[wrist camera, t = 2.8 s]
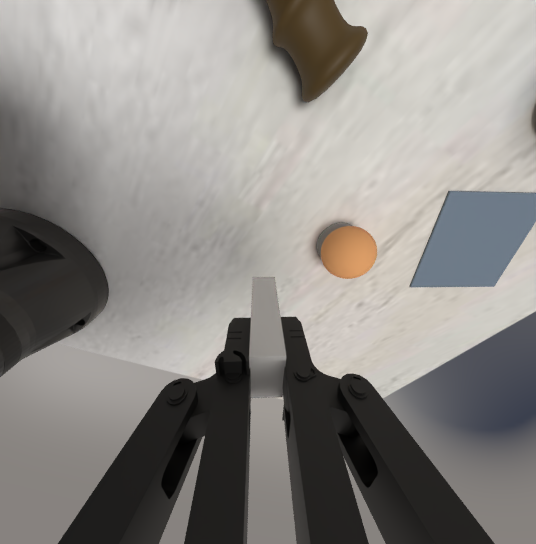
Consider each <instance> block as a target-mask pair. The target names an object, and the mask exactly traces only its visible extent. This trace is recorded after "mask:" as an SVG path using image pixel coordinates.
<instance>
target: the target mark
mask: <svg viewBox="0 0 536 544" xmlns="http://www.w3.org/2000/svg"><path fill="white" fill-rule="evenodd" d="M535 222H536V193H515V192H469V191H449V192H448V195H447V197H446V200H445V202H444V204H443V207H442V209H441V212H440V214H439V217H438V219H437V221H436V224H435V226H434V229H433V231H432V234H431V236H430V238H429V241H428V243H427V246H426V248H425V251H424V253H423V255H422V258H421V260H420V263H419V265H418V268H417V270H416V272H415V275H414V277H413V280H412V282H411V285H410V287H494V286H495V284H496V283H497V281H498V280H499V278H500V277H501V275H502V274H503V272H504V270H505V269H506V267H507V266H508V264H509V263H510V261H511V259H512V258H513V256H514V255H515V253H516V252H517V250H518V248H519V247H520V245H521V244H522V242H523V241H524V239H525V238H526V236H527V234H528V233H529V231H530V230H531V228H532V227H533V225H534V223H535Z"/></svg>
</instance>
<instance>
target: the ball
mask: <svg viewBox="0 0 536 544" xmlns="http://www.w3.org/2000/svg"><path fill="white" fill-rule="evenodd" d="M376 257H377V246H376V243H375V240H374V239H373V237H372V236H371V235H370V234H369V233H368V232H367V231H365V230H364V229H362V228H359V227H355V226H345V227H341V228H338V229H336V230H334V231H333V232H331V233H330V234H329V235H328V236H327V237H326V239H325V240H324V242H323V244H322V247H321V259H322V262H323V265H324V266H325V268H326V269H327V270H328V271H329V272H330V273H331V274H333V275H335V276H337V277H340V278H345V279H351V278H356V277H359V276H361V275H363V274H365V273H366V272H368V271H369V270H370V269H371V267H372V266H373V264H374V263H375V260H376Z"/></svg>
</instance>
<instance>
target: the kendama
mask: <svg viewBox="0 0 536 544" xmlns="http://www.w3.org/2000/svg"><path fill="white" fill-rule="evenodd" d="M266 1H267V4H268V7H269V9H270V13H271V17H272V21H273V35H272V38H273V44H274V45H275V46H277V47H282V48H284V49H285V50H286V51H287V52H288V53H289V54H290V56H291V57H292V59H293V61H294V63H295V65H296V67H297V69H298V71H299V74H300V77H301V80H302V98H303V100H304V101H305V102H310V101H312V100H314V99H316V98H317V97H319V96H320V95H321V94H322V93H323V92H325V91H326V90H327V89H328V88H329V87H330V86H331V85H332V84H333V83H334V82H335V81H336V80H337V79H338V78H339V77H340V76H341V74H342V73H343V72H344V71H345V70H346V69H347V68H348V66H349V65H350V64H351V63H352V62H353V61H354V59H355V58H356V56H357V55H358V54H359V52H360V51H361V49H362V47H363V45H364V43H365V42H366V39H367V34H368V33H367V30H366V28H364V27H362V26H351V25H349V24H348V23H347V22H346V21H345V20H344V19H343V17H342V15H341V14H340V12H339V10H338V8H337V6H336V4H335V2H334V0H266Z"/></svg>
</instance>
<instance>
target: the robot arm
mask: <svg viewBox="0 0 536 544" xmlns="http://www.w3.org/2000/svg"><path fill="white" fill-rule="evenodd" d="M107 299H108V285H107V281H106V278H105V275H104V273H103V271H102V269H101V267H100V265H99V264H98V262H97V261H96V259H95V258H94V257H93V256H92V254H91V253H90V252H89V251H88V250H87V249H86V248H85V247H84V246H83V245H82V244H81V243H80V242H79V241H78V240H76V239H75V238H74V237H73V236H71V235H70V234H68V233H67V232H65V231H64V230H62V229H61V228H59V227H57V226H56V225H54V224H52V223H50V222H48V221H46V220H44V219H41V218H39V217H36V216H34V215H31V214H27V213H24V212H20V211H16V210H10V209H0V377H1V376H2V375H3V374H5V373H6V372H7V371H8V370H9V369H11V368H12V367H13V366H14V365H15V364H17V363H18V362H19V361H20V360H22V359H23V358H25V357H27V356H29V355H31V354H33V353H35V352H38V351H39V350H41V349H44V348H46V347H47V346H50V345H51V344H54V343H56V342H58V341H60V340H62V339H64V338H66V337H68V336H70V335H72V334H74V333H76V332H78V331H79V330H81V329H83V328H84V327H85V326H87V325H88V324H89V323H90V322H91V321H92V320H93V319H94V318H95V317H96V316H97V315H99V314H100V313H101V311H102V310H103V309H104V307H105V305H106V302H107ZM215 367H216V373H215V374H214V375H213V376H211V377H210V378H207V379H205V380H202V381H199V382H196V383H193V381H191V380H189V379H184V378H181V379H178V380H174V381H172V382H171V383H169V384H168V385H166V386H165V388H164V389H163V390H162V391H161V392H160V394H159V395H158V397H157V398H156V400H155V401H154V403H153V404H152V406H151V407H150V409H149V410H148V412H147V413H146V414H145V416H144V418H143V419H142V420H141V422H140V423H139V425H138V426H137V428H136V429H135V431H134V432H133V434H132V435H131V437H130V438H129V440H128V441H127V442H126V444H125V445H124V447H123V448H122V450H121V451H120V453H119V454H118V456H117V458H116V459H115V460H114V462H113V463H112V465H111V466H110V468H109V469H108V471H107V472H106V473H105V475H104V477H103V478H102V479H101V481H100V482H99V484H98V485H97V487H96V488H95V490H94V491H93V493H92V494H91V496H90V497H89V499H88V500H87V501H86V503H85V505H84V506H83V507H82V509H81V510H80V512H79V513H78V515H77V516H76V518H75V519H74V521H73V522H72V524H71V525H70V527H69V528H68V530H67V531H66V533H65V534H64V535H63V537H62V539H61V540H60V541H59V543H58V544H159V542H160V539H161V537H162V534H163V532H164V529H165V527H166V524H167V522H168V520H169V517H170V514H171V512H172V510H173V507H174V505H175V502H176V500H177V498H178V495H179V493H180V490H181V488H182V486H183V483H184V481H185V478H186V476H187V473H188V471H189V468H190V466H191V463H192V461H193V459H194V456H195V454H196V451H197V449H198V446H199V444H200V441H201V439H202V437H203V436H205V439H204V444H203V450H202V454H201V460H200V465H199V470H198V475H197V480H196V485H195V491H194V496H193V501H192V506H191V511H190V517H189V522H188V527H187V532H186V537H185V542H184V544H247V523H248V522H247V521H248V520H247V519H248V487H249V448H250V414H251V411H250V402H251V398H267V397H283V398H284V408H283V409H284V410H283V420H284V422H285V431H286V442H287V452H288V461H289V472H290V480H291V491H292V501H293V511H294V520H295V531H296V541H297V544H369V543H368V540H367V537H366V533H365V530H364V526H363V523H362V519H361V516H360V513H359V509H358V506H357V502H356V499H355V495H354V492H353V488H352V485H351V481H350V478H349V475H348V471H347V468H346V464H345V461H344V458H345V460H346V462H347V464H348V467H349V469H350V471H351V473H352V475H353V477H354V479H355V481H356V483H357V485H358V487H359V489H360V491H361V493H362V495H363V498H364V500H365V502H366V504H367V506H368V508H369V510H370V512H371V514H372V516H373V518H374V520H375V522H376V524H377V526H378V528H379V530H380V533H381V535H382V537H383V539H384V541H385V543H386V544H494V542H493V541H492V540H491V538H490V537H489V536H488V535H487V533H486V532H485V531H484V529H483V528H482V527H481V526H480V524H479V523H478V522H477V520H476V519H475V518H474V517H473V515H472V514H471V513H470V511H469V510H468V509H467V507H466V506H465V505H464V504H463V502H462V501H461V500H460V498H459V497H458V496H457V494H456V493H455V492H454V491H453V489H452V488H451V487H450V485H449V484H448V483H447V482H446V480H445V479H444V478H443V476H442V475H441V474H440V472H439V471H438V470H437V469H436V467H435V466H434V465H433V463H432V462H431V461H430V459H429V458H428V457H427V456H426V454H425V453H424V452H423V450H422V449H421V448H420V447H419V445H418V444H417V443H416V442H415V440H414V439H413V437H412V436H411V435H410V434H409V432H408V431H407V430H406V428H405V427H404V426H403V425H402V423H401V422H400V421H399V419H398V418H397V417H396V415H395V414H394V413H393V412H392V410H391V409H390V408H389V406H388V405H387V404H386V402H385V401H384V400H383V399H382V397H381V396H380V395H379V393H378V392H377V391H376V390H375V388H374V387H373V386H372V384H371V383H370V382H369V381H368V380H367V379H365V378H363V377H362V376H360V375H356V374H346V375H344V376H343V377H342V378H341V379H339V378H335V377H331V376H328V375H326V374H323V373H322V372H320V371H319V370H318V369H317V368H316V367H315V366H314V365H313V363H312V360H311V357H310V353H309V350H308V346H307V343H306V339H305V335H304V332H303V328H302V324H301V322H300V321H299V320H298V319H297V318H296V317H280V310H279V303H278V297H277V290H276V283H275V277H253V284H252V305H251V318H234V319H233V320H232V321H231V322H230V324H229V327H228V333H227V339H226V344H225V349H224V351H223V352H221V353H220V354H219V355H218V356H217V358H216V360H215ZM343 456H344V457H343Z"/></svg>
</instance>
